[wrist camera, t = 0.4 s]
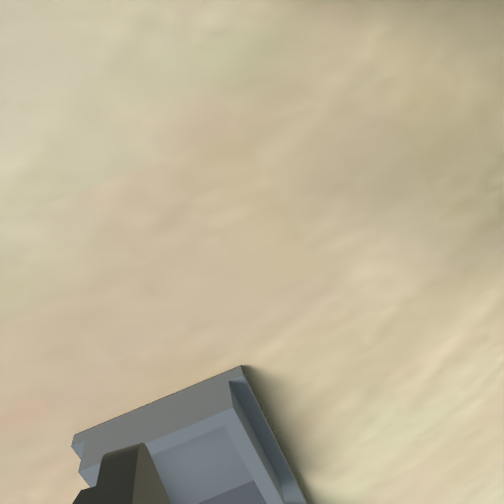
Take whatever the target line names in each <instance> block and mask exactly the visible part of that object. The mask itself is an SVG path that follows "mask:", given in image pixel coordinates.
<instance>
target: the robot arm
mask: <svg viewBox="0 0 504 504" xmlns="http://www.w3.org/2000/svg"><path fill="white" fill-rule="evenodd" d="M72 504H170V501H169V498H168V495H167V493H166V490H165V488H164V486H163V483H162V481H161V479H160V476H159V474H158V471H157V469H156V467H155V464H154V462H153V460H152V457H151V455H150V452H149V450H148V448H147V446H146V445H145V444H144V443H138V444H135V445H132V446H128V447H125V448H122V449H118V450H115V451H112V452H108V453H105V454H104V455H103V457H102V460H101V464H100V469H99V474H98V479H97V483H96V486H94V487H91V488H87V489H84V490H81V491H80V492H79V494H78V496H77V497H76V499H75V500H74V502H73V503H72Z"/></svg>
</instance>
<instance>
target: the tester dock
mask: <svg viewBox="0 0 504 504" xmlns="http://www.w3.org/2000/svg"><path fill="white" fill-rule="evenodd" d="M138 443H144V444H145V445H146V446H147V448H148V450H149V452H150V455H151V457H152V460H153V462H154V464H155V467H156V469H157V471H158V474H159V476H160V479H161V481H162V483H163V486H164V488H165V490H166V493H167V495H168V498H169V501H170V504H308V502H307V500H306V498H305V496H304V494H303V492H302V490H301V488H300V486H299V484H298V482H297V480H296V478H295V476H294V474H293V471H292V469H291V467H290V465H289V463H288V461H287V459H286V457H285V455H284V453H283V451H282V449H281V447H280V445H279V443H278V441H277V439H276V437H275V435H274V433H273V431H272V429H271V427H270V425H269V423H268V420H267V418H266V416H265V414H264V412H263V410H262V408H261V406H260V404H259V402H258V400H257V398H256V396H255V394H254V392H253V390H252V388H251V386H250V384H249V382H248V380H247V378H246V376H245V374H244V372H243V369H242V367H241V366H238V367H236V368H234V369H231V370H229V371H226V372H224V373H222V374H219V375H217V376H214V377H212V378H210V379H207V380H205V381H203V382H200V383H198V384H195V385H193V386H191V387H188V388H186V389H183V390H181V391H179V392H176V393H174V394H171V395H169V396H167V397H164V398H162V399H159V400H157V401H155V402H152V403H150V404H147V405H145V406H143V407H140V408H138V409H136V410H133V411H131V412H128V413H126V414H124V415H121V416H119V417H116V418H114V419H112V420H109V421H107V422H104V423H102V424H100V425H97V426H95V427H92V428H90V429H88V430H85V431H83V432H80V433H78V434H76V435H74V438H73V441H72V445H71V447H72V448H73V450H74V451H75V452H76V454H77V455H78V456H79V458H80V459H81V462H80V467H79V471H78V472H79V474H80V475H81V476H82V477H83V479H84V480H85V481H86V483H87V484H88V485H89V486H90V488H91V487H94V486H96V483H97V479H98V474H99V469H100V464H101V460H102V457H103V455H104V454H105V453H108V452H112V451H115V450H118V449H122V448H125V447H128V446H132V445H135V444H138Z"/></svg>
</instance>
